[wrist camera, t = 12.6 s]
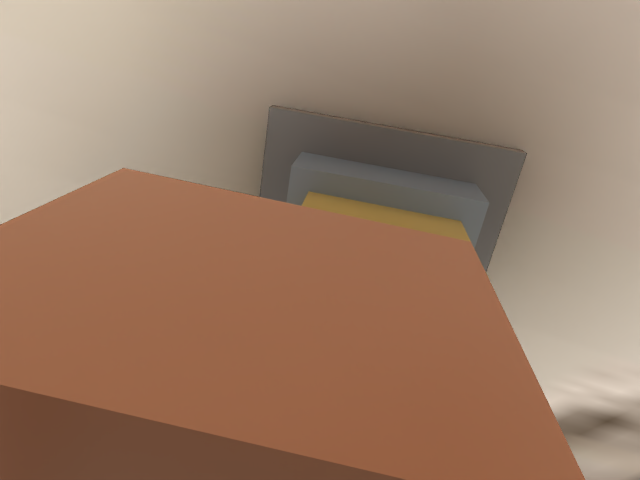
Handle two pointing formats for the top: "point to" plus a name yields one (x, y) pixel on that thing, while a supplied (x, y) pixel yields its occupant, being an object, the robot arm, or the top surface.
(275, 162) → the baseplate
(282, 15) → the top surface
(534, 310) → the top surface
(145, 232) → the terracotta brick
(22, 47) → the top surface
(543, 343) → the top surface
